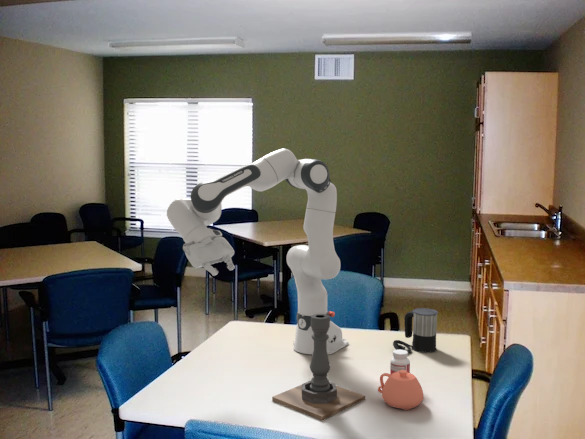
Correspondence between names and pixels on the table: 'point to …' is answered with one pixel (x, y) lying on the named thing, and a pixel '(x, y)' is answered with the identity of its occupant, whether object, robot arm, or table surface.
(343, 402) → the candle dish
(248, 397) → the table surface
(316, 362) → the candle holder
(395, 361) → the pill bottle
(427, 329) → the milk frother
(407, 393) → the sugar bowl
